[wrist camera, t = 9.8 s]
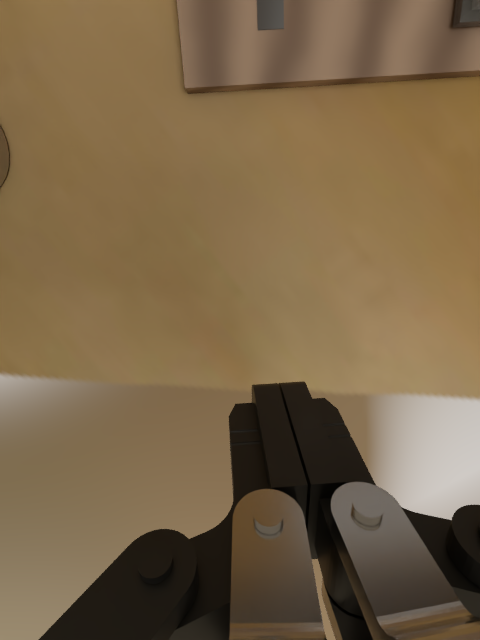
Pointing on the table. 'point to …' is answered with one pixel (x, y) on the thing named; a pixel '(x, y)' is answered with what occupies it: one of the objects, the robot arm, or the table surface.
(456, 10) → the grey switch
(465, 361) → the table surface
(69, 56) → the table surface
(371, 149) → the table surface
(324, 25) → the switch board
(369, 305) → the table surface
